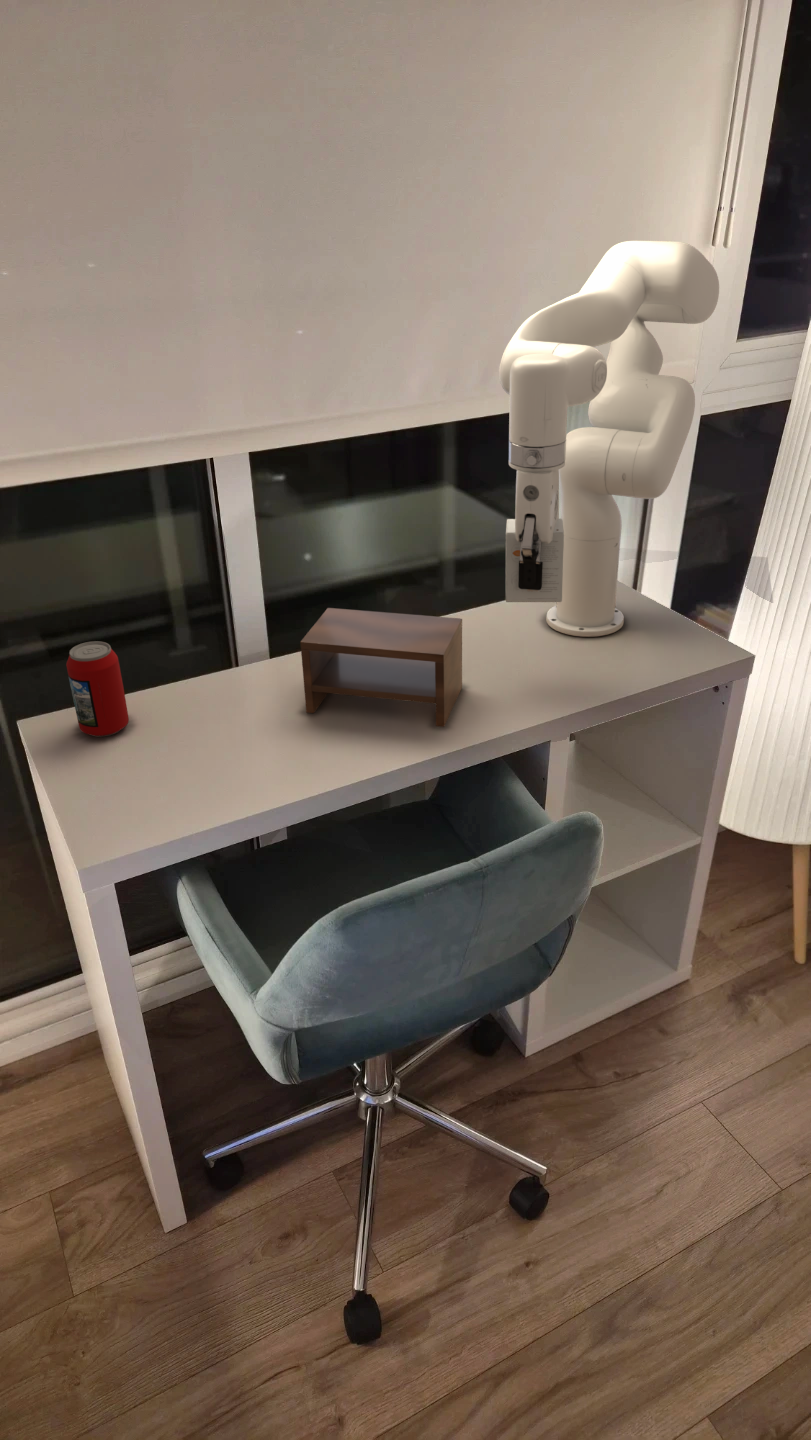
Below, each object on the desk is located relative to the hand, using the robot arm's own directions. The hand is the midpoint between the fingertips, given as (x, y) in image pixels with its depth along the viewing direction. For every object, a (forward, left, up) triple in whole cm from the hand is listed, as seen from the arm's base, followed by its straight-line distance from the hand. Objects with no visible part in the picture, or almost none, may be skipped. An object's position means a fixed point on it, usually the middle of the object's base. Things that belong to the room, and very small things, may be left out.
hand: (533, 578), depth 147 cm
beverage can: (+28, -55, -16) cm, 64 cm away
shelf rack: (+12, -19, -16) cm, 27 cm away
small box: (0, 0, -3) cm, 3 cm away
